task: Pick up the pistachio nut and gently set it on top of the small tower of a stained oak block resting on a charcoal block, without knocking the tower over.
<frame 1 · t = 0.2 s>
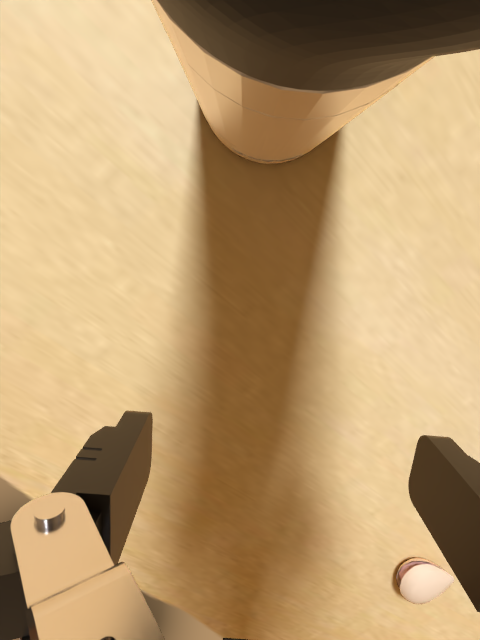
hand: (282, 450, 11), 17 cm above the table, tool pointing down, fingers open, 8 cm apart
pistachio nut: (419, 565, 36), on the table
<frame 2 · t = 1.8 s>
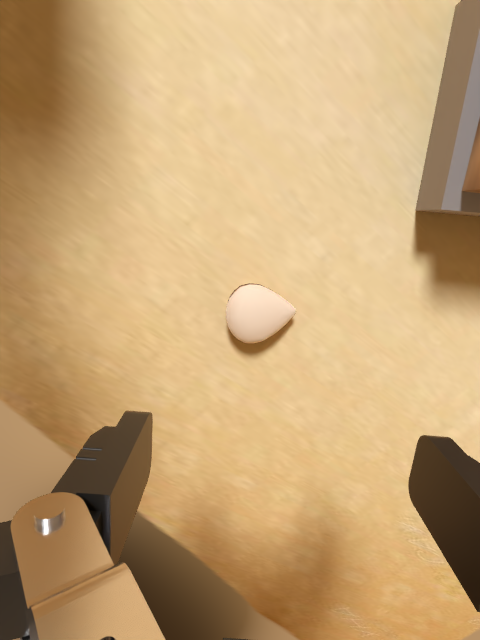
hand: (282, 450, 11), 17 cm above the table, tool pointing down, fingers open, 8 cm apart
pistachio nut: (260, 308, 29), on the table
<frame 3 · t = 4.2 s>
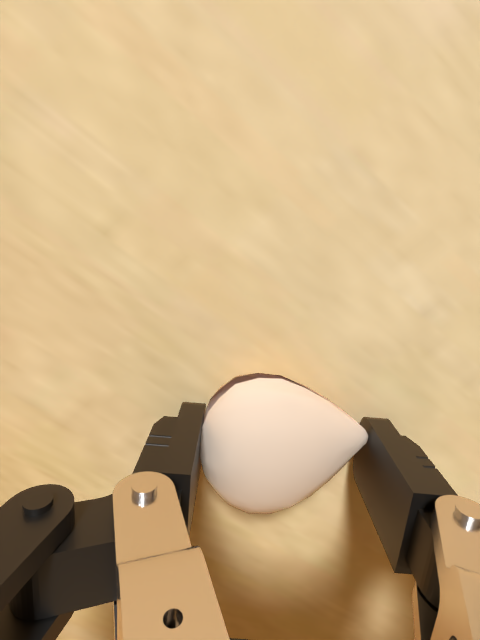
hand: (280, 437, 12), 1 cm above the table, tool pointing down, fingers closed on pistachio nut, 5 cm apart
pistachio nut: (279, 416, 13), on the table, touching gripper
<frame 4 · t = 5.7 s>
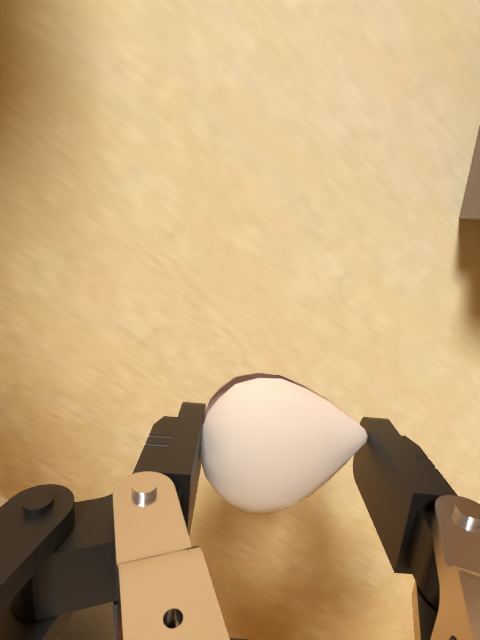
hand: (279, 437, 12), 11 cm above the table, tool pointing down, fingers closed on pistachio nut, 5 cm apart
pistachio nut: (279, 416, 13), point 10 cm above the table, touching gripper
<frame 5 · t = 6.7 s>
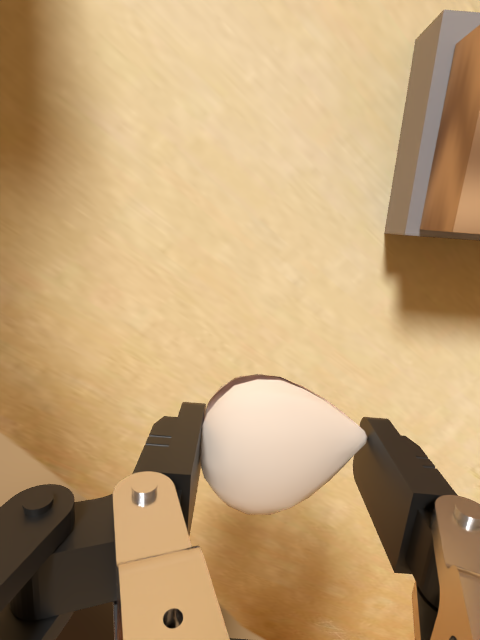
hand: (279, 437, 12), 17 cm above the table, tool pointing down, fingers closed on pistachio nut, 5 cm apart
pistachio nut: (278, 417, 13), point 16 cm above the table, touching gripper
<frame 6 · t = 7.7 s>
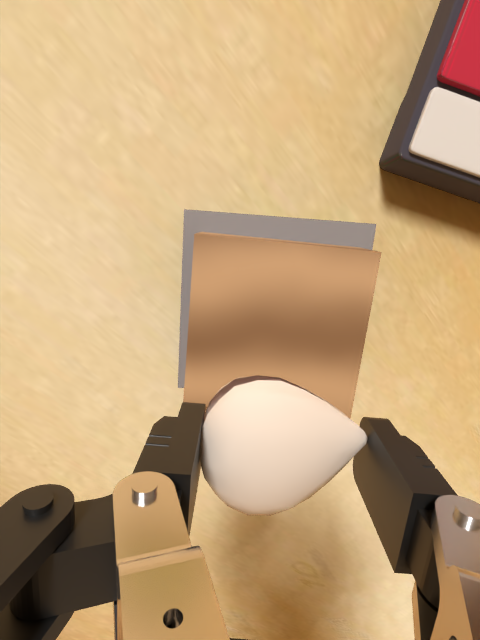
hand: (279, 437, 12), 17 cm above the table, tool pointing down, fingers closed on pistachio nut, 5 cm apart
pistachio nut: (278, 418, 13), point 17 cm above the table, touching gripper
tower base block: (267, 298, 29), on the table, touching tower top block
tower top block: (271, 316, 25), point 3 cm above the table, touching tower base block
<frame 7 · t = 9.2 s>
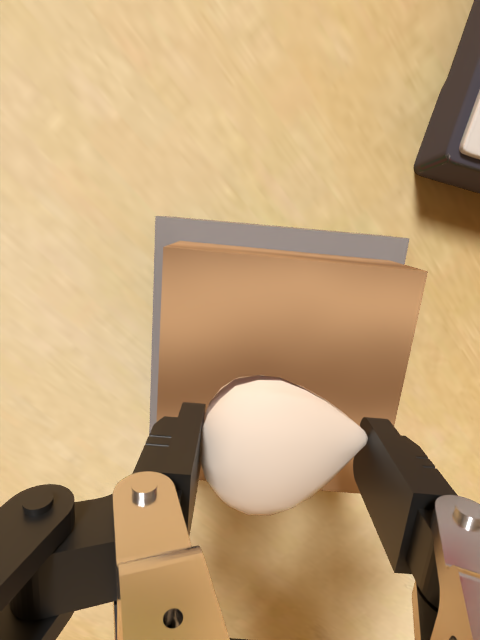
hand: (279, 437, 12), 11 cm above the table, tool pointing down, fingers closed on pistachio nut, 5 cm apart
pistachio nut: (279, 418, 13), point 10 cm above the table, touching gripper
tower base block: (265, 326, 23), on the table, touching tower top block
tower top block: (273, 349, 20), point 3 cm above the table, touching tower base block
when the fingers open (9 cm above the table, at t = 10.8 s): pistachio nut drops 1 cm, resting on tower top block.
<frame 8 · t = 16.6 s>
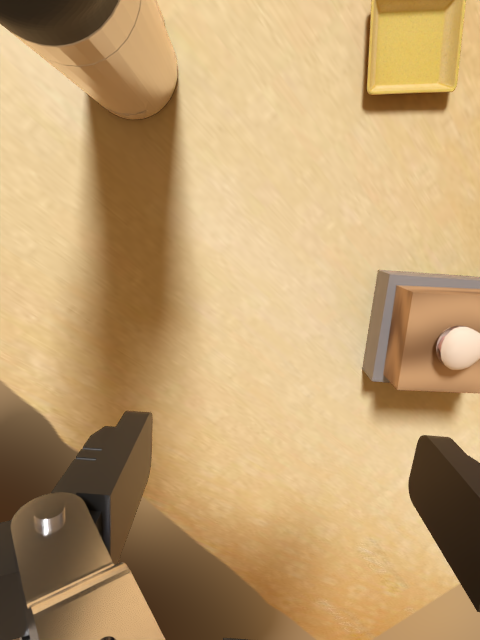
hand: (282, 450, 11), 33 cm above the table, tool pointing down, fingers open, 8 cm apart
pistachio nut: (456, 342, 38), point 7 cm above the table, touching tower top block
tower base block: (419, 323, 45), on the table, touching tower top block
tower top block: (435, 333, 41), point 4 cm above the table, touching pistachio nut, tower base block
yellow shallow square tray: (405, 51, 38), on the table
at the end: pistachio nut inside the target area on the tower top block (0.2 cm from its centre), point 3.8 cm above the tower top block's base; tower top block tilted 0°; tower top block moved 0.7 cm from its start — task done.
